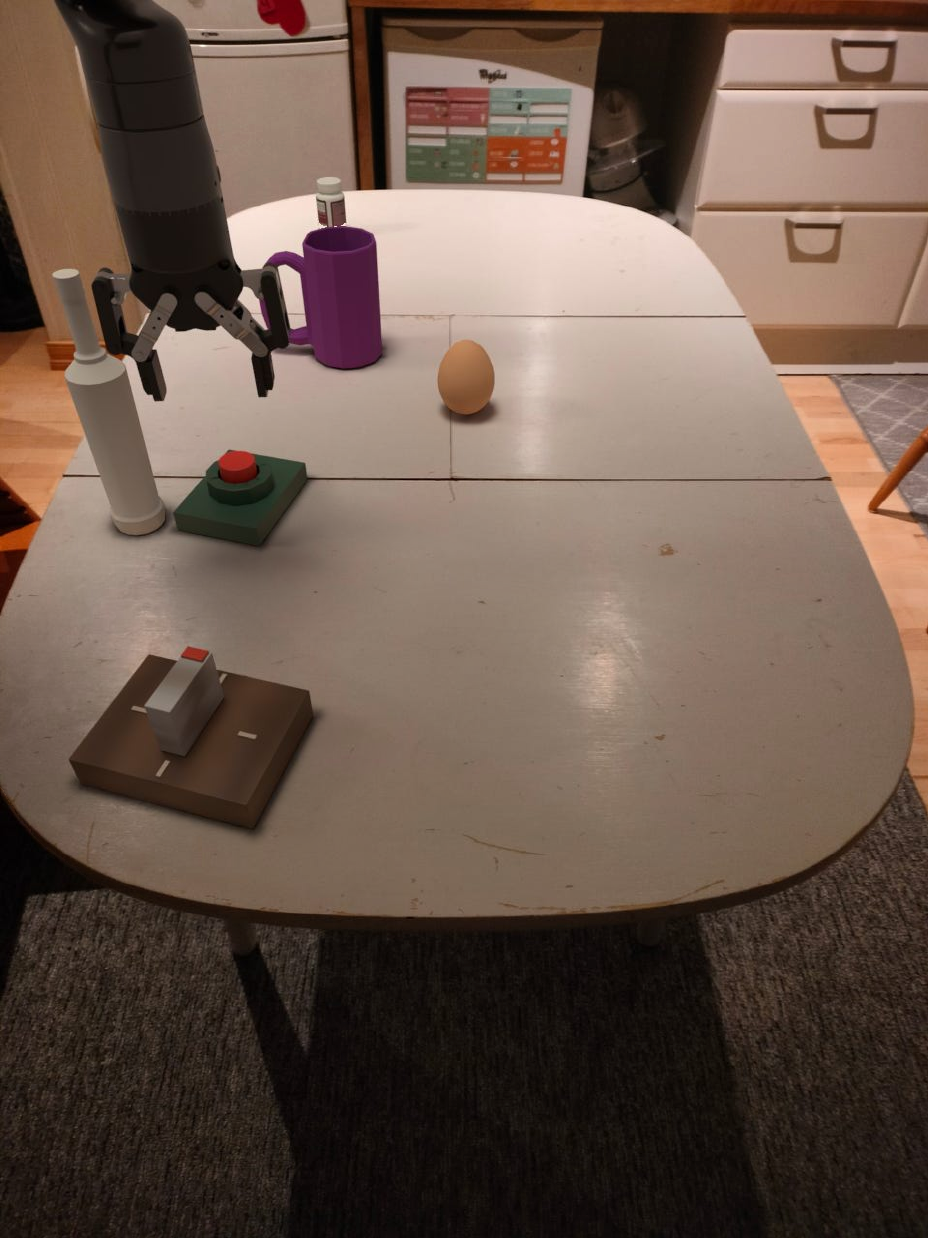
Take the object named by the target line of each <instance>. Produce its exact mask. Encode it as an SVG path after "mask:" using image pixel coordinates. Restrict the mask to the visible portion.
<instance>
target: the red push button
mask: <svg viewBox="0 0 928 1238" xmlns="http://www.w3.org/2000/svg"><path fill="white" fill-rule="evenodd" d="M225 453H226V452H225ZM225 453H224V454H222V455H221V456H220V457H219V458H218V460H219V461H218V464H219V469H220V474H221V478H222V480H223V481H224V482H226V483H232V484H239V483H246V482H248V481H250V480H253V479H255V477H256V476H257V468H256V462H255V457H254V456H253V455H252V454H253V453H252V452H250V451H245V450H235V451H233V452H229V453H226V454H225ZM251 453H252V454H251Z"/></svg>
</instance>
